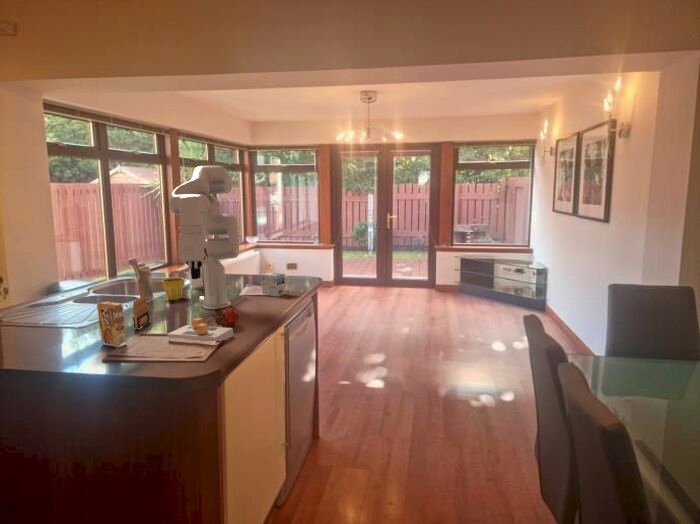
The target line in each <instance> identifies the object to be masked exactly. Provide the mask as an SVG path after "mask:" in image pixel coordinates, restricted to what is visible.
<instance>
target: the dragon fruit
mask: <svg viewBox="0 0 700 524" xmlns="http://www.w3.org/2000/svg"><path fill="white" fill-rule="evenodd" d="M215 314H216V315H215V318H214V319H215V324H216V325H217V326H218V327H223V328H234V327H236V324H237V323H238V321H239V318H240V315H239V313H238V311H237V310H236V309H233V307H230V306H228V307H225V308H222V309H221V310H219V311H217V312H216V313H215Z"/></svg>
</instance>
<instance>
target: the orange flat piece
mask: <svg viewBox="0 0 700 524" xmlns="http://www.w3.org/2000/svg"><path fill="white" fill-rule="evenodd" d="M132 310H133V311H132V312H133V313H132V314H133V318H132V319H133V329H134V328H140V327H141V326H143V325H144V324H146V323H148V322H149V321H150V314H149V310H148V304H147V298H146V296H145V295H144V294H143V295H141V296H140V297H138V298H137V299H135V300H133V309H132Z"/></svg>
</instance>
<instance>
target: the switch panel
mask: <svg viewBox="0 0 700 524" xmlns="http://www.w3.org/2000/svg"><path fill="white" fill-rule="evenodd" d="M168 337H169V338H183V339H189V340H200V341H222V340H225V341H227V340H229V339H231V338H232V337H234V327H228V328H223V327H222V326H208V332H207V333H205V334H197V328H193V324H192V325H190V324H186V325H184V326H181V327H179V328H177V329H175V330H173V331H170V332H169V333H167V338H168ZM230 337H231V338H230ZM228 338H229V339H228ZM226 339H227V340H226Z"/></svg>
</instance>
